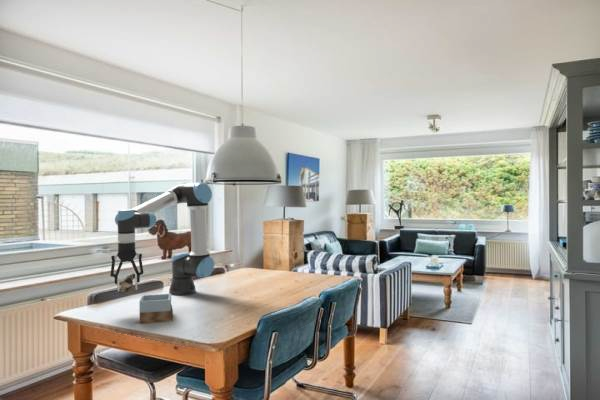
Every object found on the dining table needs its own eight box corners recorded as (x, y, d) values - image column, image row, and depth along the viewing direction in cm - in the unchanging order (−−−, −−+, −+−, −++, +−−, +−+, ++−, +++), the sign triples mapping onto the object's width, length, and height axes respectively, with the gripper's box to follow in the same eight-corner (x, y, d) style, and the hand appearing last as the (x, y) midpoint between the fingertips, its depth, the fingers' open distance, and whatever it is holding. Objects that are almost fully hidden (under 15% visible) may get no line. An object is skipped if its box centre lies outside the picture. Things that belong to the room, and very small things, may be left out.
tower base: (171, 313, 202) (171, 303, 202) (172, 321, 189) (172, 310, 189) (140, 316, 197) (140, 306, 197) (139, 324, 184) (139, 313, 184)
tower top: (171, 304, 201) (171, 293, 201) (170, 310, 188) (170, 299, 188) (142, 305, 198) (142, 295, 198) (139, 312, 185) (139, 301, 185)
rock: (144, 287, 200) (137, 272, 206) (134, 283, 194) (126, 268, 199) (131, 299, 200) (124, 284, 206) (120, 296, 194) (113, 281, 199)
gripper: (148, 240, 206) (149, 286, 206) (104, 242, 199) (105, 290, 200) (149, 241, 199) (149, 289, 199) (102, 244, 192) (103, 293, 192)
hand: (127, 290), depth 199 cm, fingers closed on rock, 7 cm apart
